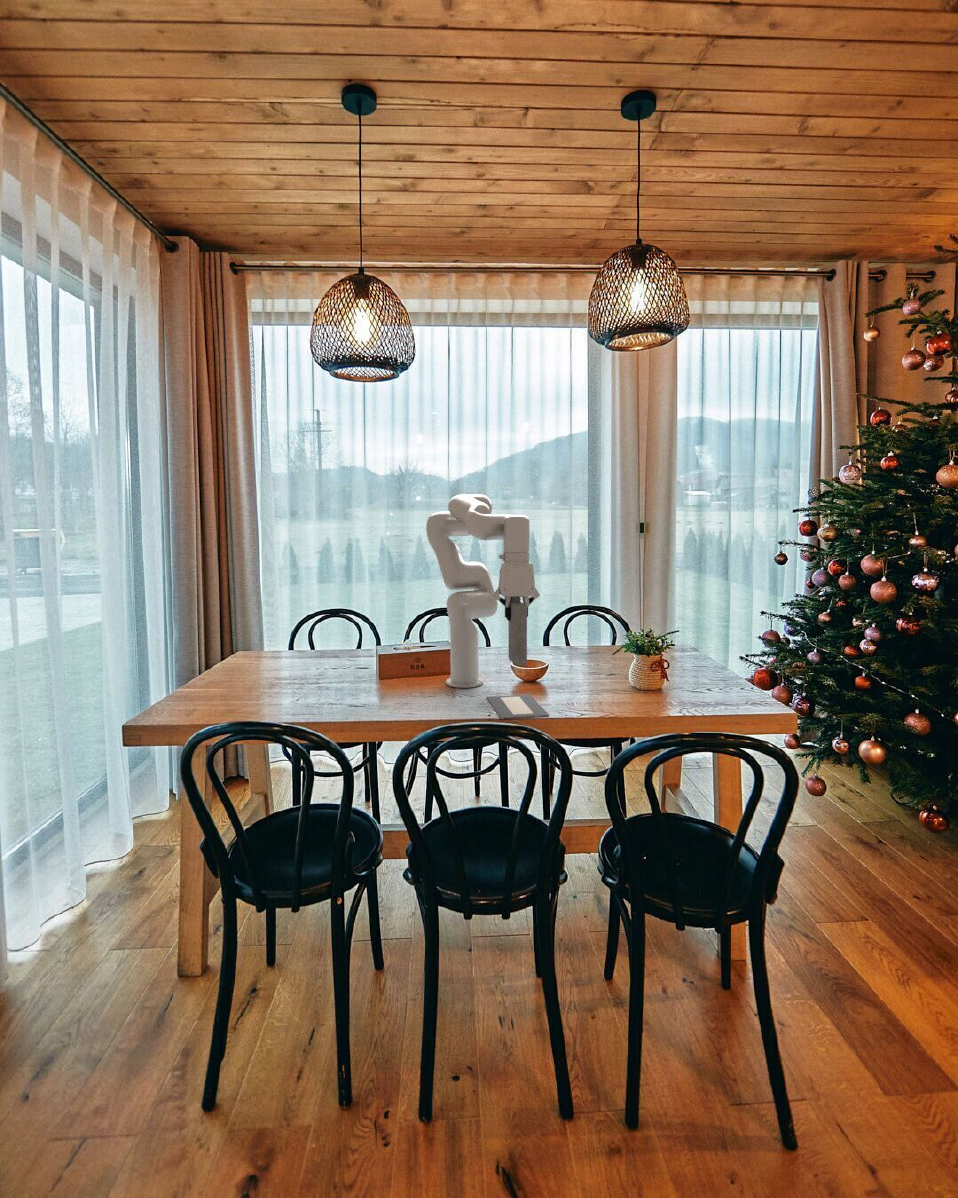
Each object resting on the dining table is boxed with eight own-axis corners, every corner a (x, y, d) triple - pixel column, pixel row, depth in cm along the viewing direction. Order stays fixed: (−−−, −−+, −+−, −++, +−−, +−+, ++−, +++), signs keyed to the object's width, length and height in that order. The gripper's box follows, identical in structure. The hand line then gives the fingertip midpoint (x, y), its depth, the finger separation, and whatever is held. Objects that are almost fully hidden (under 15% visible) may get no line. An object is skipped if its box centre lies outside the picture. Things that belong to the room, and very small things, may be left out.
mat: (486, 698, 217) (486, 696, 217) (529, 695, 219) (529, 694, 219) (501, 719, 195) (501, 717, 195) (548, 716, 198) (548, 714, 198)
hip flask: (527, 665, 198) (528, 596, 195) (513, 666, 197) (513, 597, 195) (518, 654, 213) (518, 590, 211) (505, 654, 213) (504, 590, 210)
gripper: (490, 559, 196) (491, 622, 199) (547, 558, 199) (547, 620, 201) (485, 557, 203) (486, 618, 206) (540, 556, 206) (540, 616, 209)
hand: (516, 619), depth 204 cm, fingers closed on hip flask, 4 cm apart
